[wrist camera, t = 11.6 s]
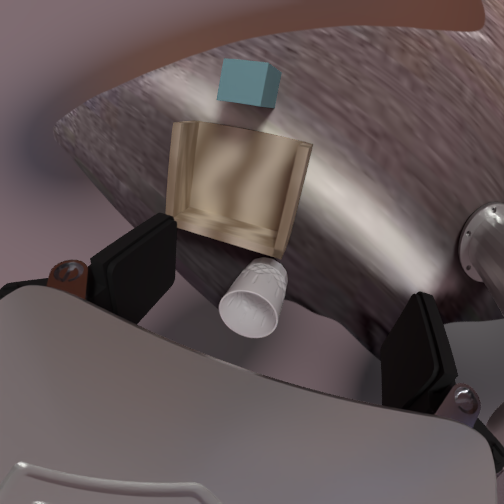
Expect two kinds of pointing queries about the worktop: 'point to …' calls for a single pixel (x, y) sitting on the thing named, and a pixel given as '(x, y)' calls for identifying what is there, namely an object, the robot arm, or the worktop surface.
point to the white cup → (255, 299)
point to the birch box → (236, 184)
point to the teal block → (249, 83)
